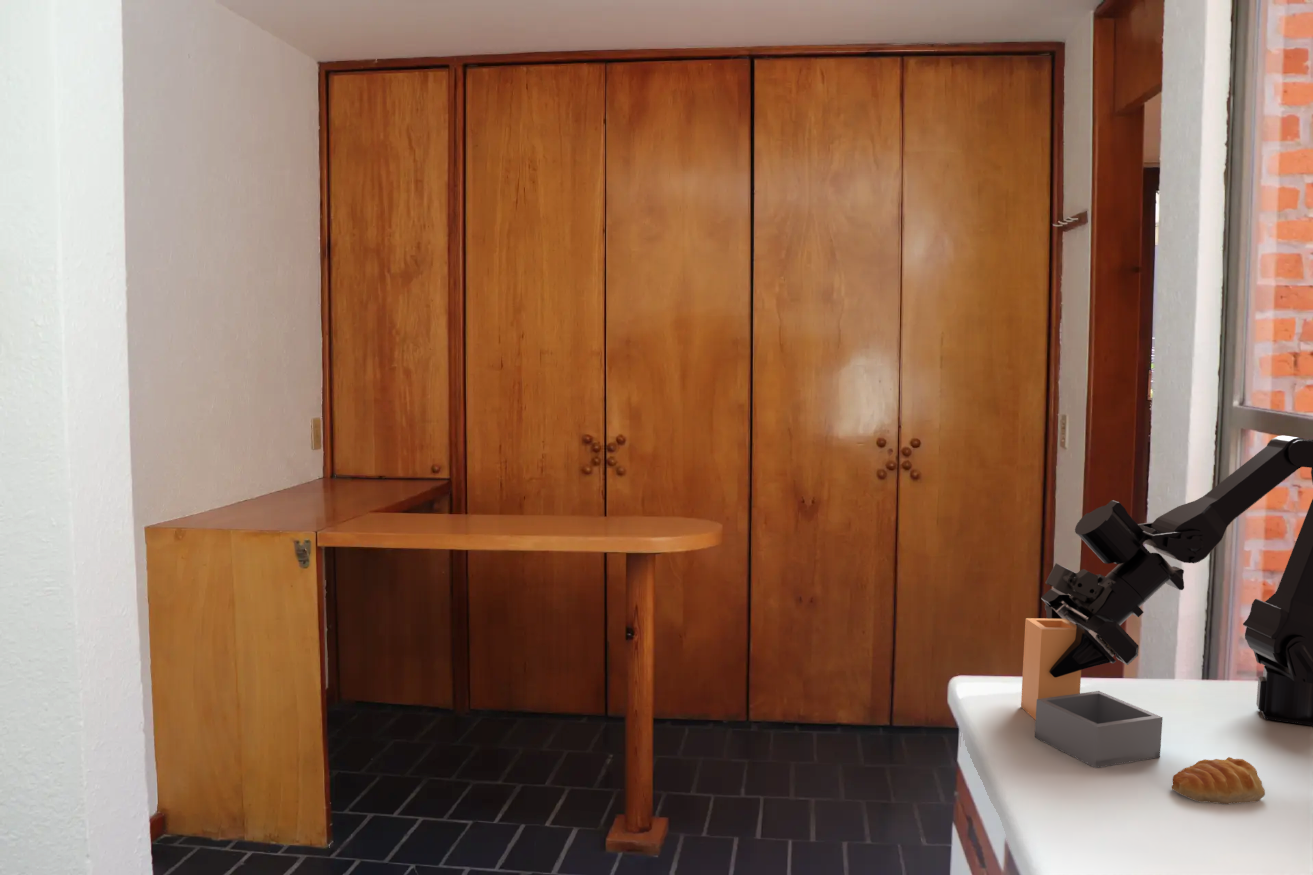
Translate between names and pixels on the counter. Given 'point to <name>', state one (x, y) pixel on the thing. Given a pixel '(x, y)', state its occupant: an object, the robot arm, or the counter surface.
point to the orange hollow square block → (1046, 661)
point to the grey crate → (1098, 728)
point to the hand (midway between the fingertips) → (1041, 666)
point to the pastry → (1219, 782)
